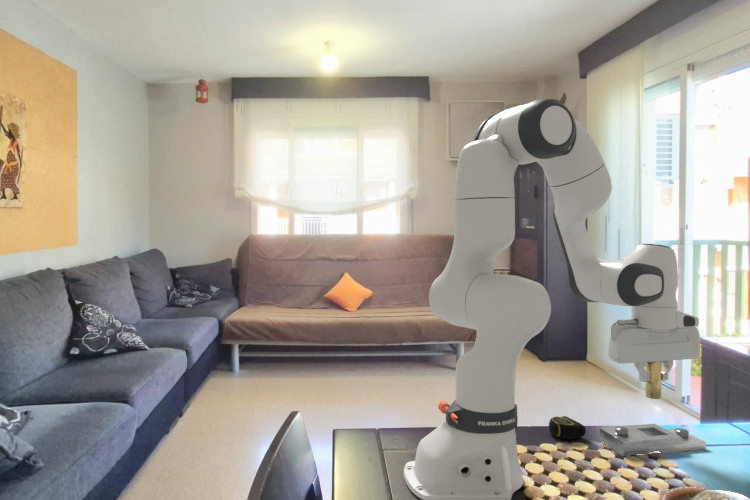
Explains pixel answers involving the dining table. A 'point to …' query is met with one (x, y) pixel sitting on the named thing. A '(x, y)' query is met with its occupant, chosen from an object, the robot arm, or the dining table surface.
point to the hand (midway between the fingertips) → (653, 380)
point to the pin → (654, 380)
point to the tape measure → (566, 428)
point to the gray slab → (649, 439)
